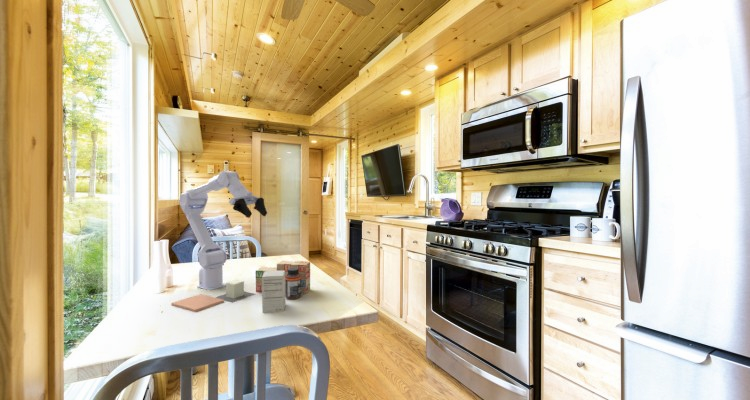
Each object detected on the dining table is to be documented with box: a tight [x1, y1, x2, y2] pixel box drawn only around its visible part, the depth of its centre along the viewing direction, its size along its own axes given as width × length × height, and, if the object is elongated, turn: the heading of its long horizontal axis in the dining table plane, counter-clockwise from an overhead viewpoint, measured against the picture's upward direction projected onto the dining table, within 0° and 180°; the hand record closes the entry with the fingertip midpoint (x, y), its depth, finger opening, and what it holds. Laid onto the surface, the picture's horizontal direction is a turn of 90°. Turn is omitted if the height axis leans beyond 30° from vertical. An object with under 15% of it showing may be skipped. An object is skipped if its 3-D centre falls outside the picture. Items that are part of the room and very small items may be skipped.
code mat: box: [214, 290, 256, 304], centre depth 123 cm, size 11×11×1 cm
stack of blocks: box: [255, 260, 311, 295], centre depth 130 cm, size 21×6×12 cm, turn 84°
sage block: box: [225, 279, 245, 298], centre depth 123 cm, size 4×4×6 cm
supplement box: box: [261, 271, 287, 313], centre depth 111 cm, size 7×7×13 cm
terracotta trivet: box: [171, 293, 225, 313], centre depth 115 cm, size 14×11×1 cm
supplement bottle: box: [285, 268, 302, 300], centre depth 122 cm, size 6×6×11 cm
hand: (258, 215), depth 122 cm, fingers open, 7 cm apart
